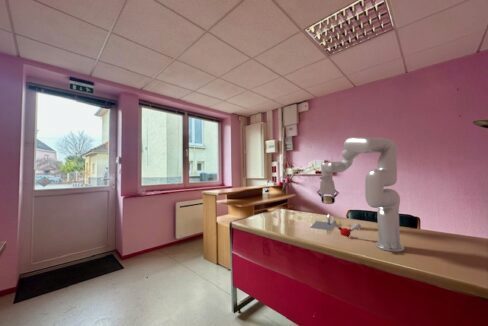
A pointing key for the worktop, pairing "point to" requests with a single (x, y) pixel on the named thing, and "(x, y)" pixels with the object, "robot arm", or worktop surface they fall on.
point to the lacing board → (322, 226)
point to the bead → (327, 199)
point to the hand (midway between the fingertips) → (328, 202)
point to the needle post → (329, 219)
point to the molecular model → (344, 230)
